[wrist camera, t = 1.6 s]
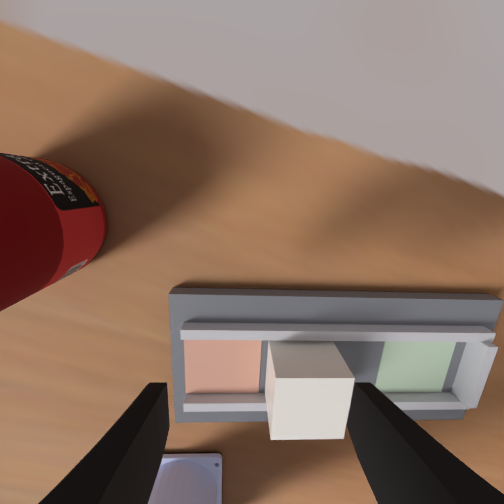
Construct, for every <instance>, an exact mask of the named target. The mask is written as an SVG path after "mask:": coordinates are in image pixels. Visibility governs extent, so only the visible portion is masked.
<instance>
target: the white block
mask: <svg viewBox="0 0 504 504" xmlns="http://www.w3.org/2000/svg"><path fill="white" fill-rule="evenodd" d="M354 380H355V377H354V376H353V374H352V372H351V371H350V369H349V367H348V366H347V364H346V362H345V361H344V359H343V357H342V356H341V354H340V352H339V351H338V349H337V347H336V346H335V344H334V342H333V341H278V340H268V352H267V366H266V381H265V397H266V405H267V414H268V422H269V430H270V439H271V440H300V439H344V434H345V428H346V423H347V418H348V412H349V407H350V402H351V396H352V391H353V386H354Z"/></svg>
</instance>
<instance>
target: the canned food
mask: <svg viewBox="0 0 504 504" xmlns="http://www.w3.org/2000/svg"><path fill="white" fill-rule="evenodd" d="M106 230H107V222H106V214H105V210H104V207H103V204H102V202H101V200H100V198H99V196H98V195H97V193H96V192H95V190H94V189H93V188H92V186H91V185H90V184H89V183H88V182H87V181H86V180H85V179H83V178H82V177H81V176H79V175H78V174H77V173H75V172H74V171H72V170H70V169H68V168H66V167H64V166H62V165H60V164H58V163H56V162H52V161H49V160H45V159H39V158H32V157H25V156H18V155H11V154H4V153H0V311H2V310H4V309H6V308H7V307H9V306H11V305H13V304H15V303H17V302H19V301H21V300H23V299H25V298H26V297H28V296H30V295H32V294H34V293H36V292H38V291H40V290H42V289H44V288H45V287H47V286H49V285H51V284H53V283H55V282H57V281H59V280H61V279H62V278H64V277H66V276H68V275H70V274H72V273H74V272H76V271H78V270H79V269H81V268H83V267H85V266H86V265H87V264H88V263H89V262H90V261H91V260H92V259H93V258H94V256H95V255H96V254H97V252H98V251H99V249H100V248H101V246H102V244H103V242H104V239H105V235H106Z"/></svg>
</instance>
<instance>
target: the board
mask: <svg viewBox="0 0 504 504" xmlns="http://www.w3.org/2000/svg"><path fill="white" fill-rule="evenodd" d="M503 302H504V300H502V299H500V298H497V297H495V296H493V295H490V294H471V293H422V292H373V291H324V290H275V289H226V288H177V287H173V288H172V290H171V291H170V293H169V312H170V331H171V351H172V370H173V389H174V408H175V423H180V422H268V414H267V405H266V397H265V381H266V366H267V352H268V340H278V341H333V342H334V344H335V346H336V347H337V349H338V351H339V352H340V354H341V356H342V357H343V359H344V361H345V362H346V364H347V366H348V367H349V369H350V371H351V372H352V374H353V376H354V377H355V380H354V383H355V382H371V383H372V384H373V385H374V386H375V387H376V388H378V389H379V390H380V391H381V392H382V393H383V394H384V395H385V396H387V397H388V398H389V399H390V400H391V401H392V402H393V403H394V404H395V405H397V406H398V407H399V408H400V409H401V410H402V411H403V412H404V413H405V414H407V415H408V416H409V417H410V418H411V419H412V420H454V419H463V417H464V414H465V411H466V409H470V408H477V405H478V402H479V400H480V397H481V394H482V391H483V389H484V386H485V383H486V380H487V378H488V375H489V372H490V369H491V366H492V364H493V361H494V358H495V355H496V353H497V350H498V347H497V346H496V345H494V344H492V343H491V342H493V341H494V338H495V335H496V333H495V332H493V331H494V328H495V325H496V322H497V319H498V316H499V313H500V311H501V308H502V305H503ZM353 389H354V386H353ZM352 394H353V391H352ZM351 399H352V396H351ZM350 405H351V402H350ZM349 410H350V407H349ZM348 415H349V412H348ZM347 421H348V418H347Z"/></svg>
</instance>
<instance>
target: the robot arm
mask: <svg viewBox="0 0 504 504" xmlns="http://www.w3.org/2000/svg"><path fill="white" fill-rule="evenodd" d="M169 427H170V426H169V409H168V393H167V383H149V384H148V385H147V386H146V387H145V388H144V389H143V391H142V392H141V393H140V394H139V395H138V397H137V398H136V399H135V400H134V402H133V403H132V404H131V405H130V406H129V408H128V409H127V410H126V411H125V412H124V413H123V415H122V416H121V417H120V418H119V419H118V420H117V422H116V423H115V424H114V425H113V426H112V427H111V428H110V429H109V431H108V432H107V433H106V434H105V435H104V436H103V437H102V438H101V440H100V441H99V442H98V443H97V444H96V445H95V446H94V447H93V448H92V449H91V450H90V452H89V453H88V454H87V455H86V456H85V457H84V458H83V459H82V460H81V461H80V462H79V463H78V464H77V465H76V466H75V467H74V468H73V469H72V470H71V471H70V472H69V474H68V475H67V476H66V477H65V478H64V479H63V480H62V481H61V482H60V483H59V484H58V485H57V486H56V487H55V488H54V489H53V490H52V491H51V492H50V493H49V494H48V495H47V496H46V497H45V498H44V499H43V500H41V501H40V502H39V503H38V504H222V455H221V454H219V453H201V454H163V453H164V449H165V445H166V440H167V436H168V431H169ZM347 427H348V430H349V433H350V436H351V439H352V442H353V445H354V448H355V451H356V454H357V457H358V459H359V461H360V464H361V466H362V468H363V471H364V473H365V475H366V477H367V480H368V482H369V484H370V487H371V489H372V491H373V493H374V495H375V498H376V500H377V502H378V504H504V494H503V493H501V492H500V491H498V490H497V489H496V488H494V487H493V486H492V485H491V484H489V483H488V482H487V481H485V480H484V479H483V478H482V477H480V476H479V475H478V474H476V473H475V472H474V471H473V470H471V469H470V468H469V467H468V466H467V465H465V464H464V463H463V462H462V461H460V460H459V459H458V458H457V457H455V456H454V455H453V454H452V453H451V452H449V451H448V450H447V449H446V448H445V447H443V446H442V445H441V444H440V443H439V442H437V441H436V440H435V439H434V438H433V437H432V436H430V435H429V434H428V433H427V432H426V431H425V430H424V429H422V428H421V427H420V426H419V425H418V424H417V423H416V422H414V421H413V420H412V419H411V418H410V417H409V416H408V415H407V414H405V413H404V412H403V411H402V410H401V409H400V408H399V407H398V406H397V405H395V404H394V403H393V402H392V401H391V400H390V399H389V398H388V397H387V396H385V395H384V394H383V393H382V392H381V391H380V390H379V389H378V388H376V387H375V386H374V385H373V384H372V383H371V382H355V383H354V389H353V394H352V399H351V405H350V410H349V415H348V421H347Z"/></svg>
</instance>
